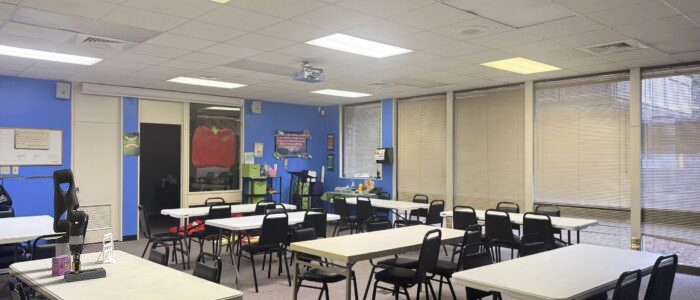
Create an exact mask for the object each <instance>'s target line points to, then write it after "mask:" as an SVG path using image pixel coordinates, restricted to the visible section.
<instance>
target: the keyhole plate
mask: <svg viewBox="0 0 700 300" xmlns="http://www.w3.org/2000/svg"><path fill="white" fill-rule="evenodd" d="M106 277H107V270H106V269H105V268H104V267H93V268H87V269H81V270H79V271H78V273H77V274H75V271H73V270H71V271H69V272H64V275H63V279H64V280H65V282H66V283H73V282H80V281H86V280H93V279H101V278H106Z"/></svg>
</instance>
